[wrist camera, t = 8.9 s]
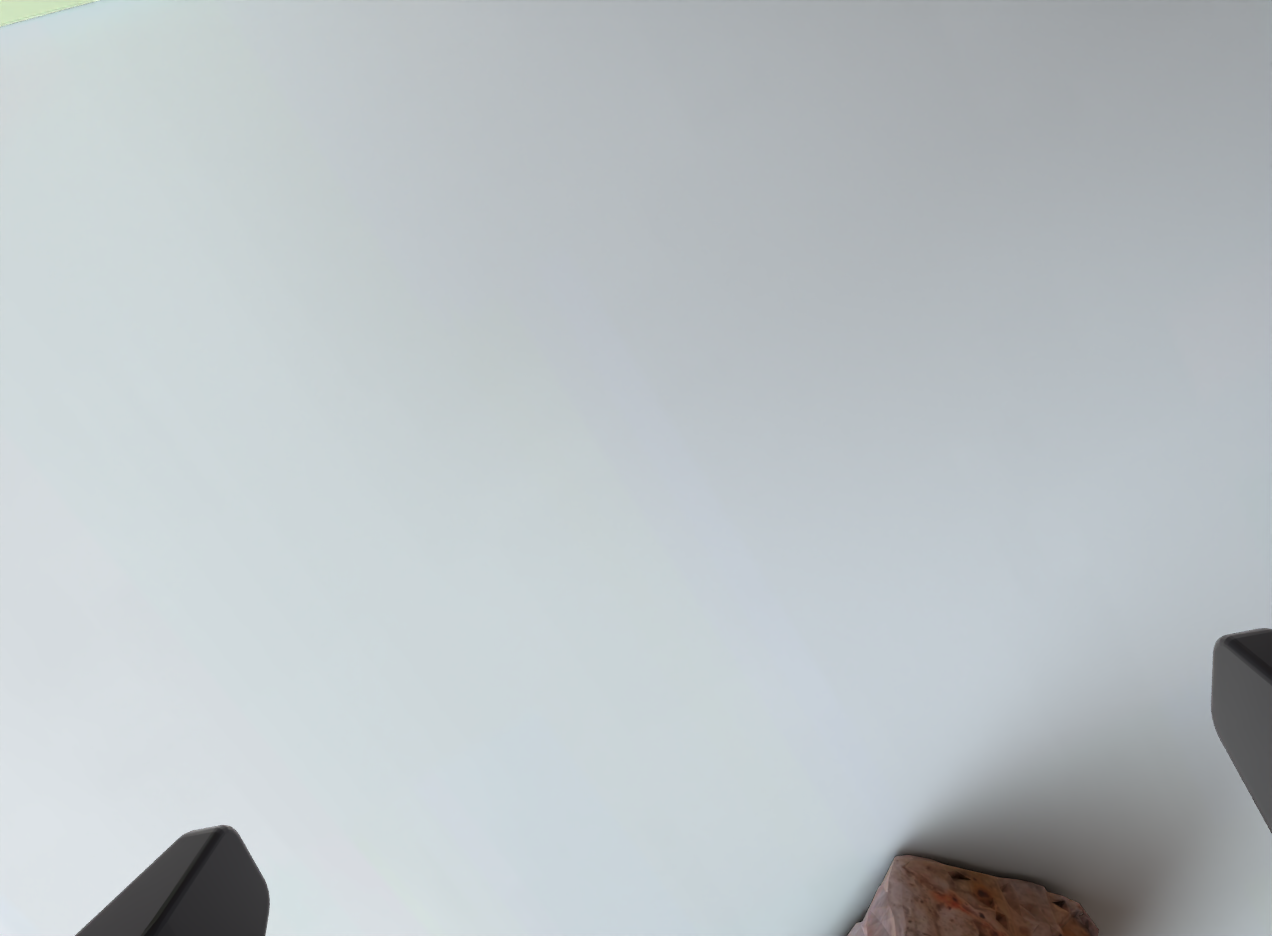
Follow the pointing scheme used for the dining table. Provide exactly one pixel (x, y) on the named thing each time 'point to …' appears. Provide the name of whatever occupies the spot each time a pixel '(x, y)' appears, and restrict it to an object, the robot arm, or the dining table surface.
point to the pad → (33, 8)
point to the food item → (966, 905)
